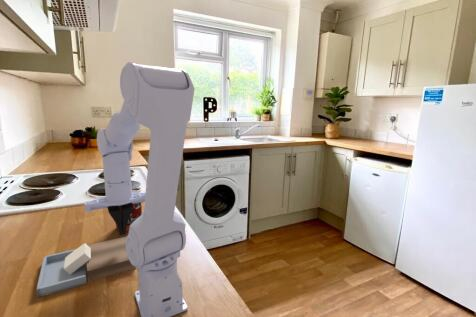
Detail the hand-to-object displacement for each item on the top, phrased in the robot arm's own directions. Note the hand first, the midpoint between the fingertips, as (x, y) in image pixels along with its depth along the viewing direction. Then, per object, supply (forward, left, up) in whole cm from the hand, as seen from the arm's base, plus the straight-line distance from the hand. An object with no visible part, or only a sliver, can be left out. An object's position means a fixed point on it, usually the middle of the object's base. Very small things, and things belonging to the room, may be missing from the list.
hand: (122, 233), depth 64 cm
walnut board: (0, +3, -7) cm, 7 cm away
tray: (0, +13, -7) cm, 14 cm away
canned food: (+17, -4, -7) cm, 19 cm away
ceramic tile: (+1, +9, -5) cm, 10 cm away
